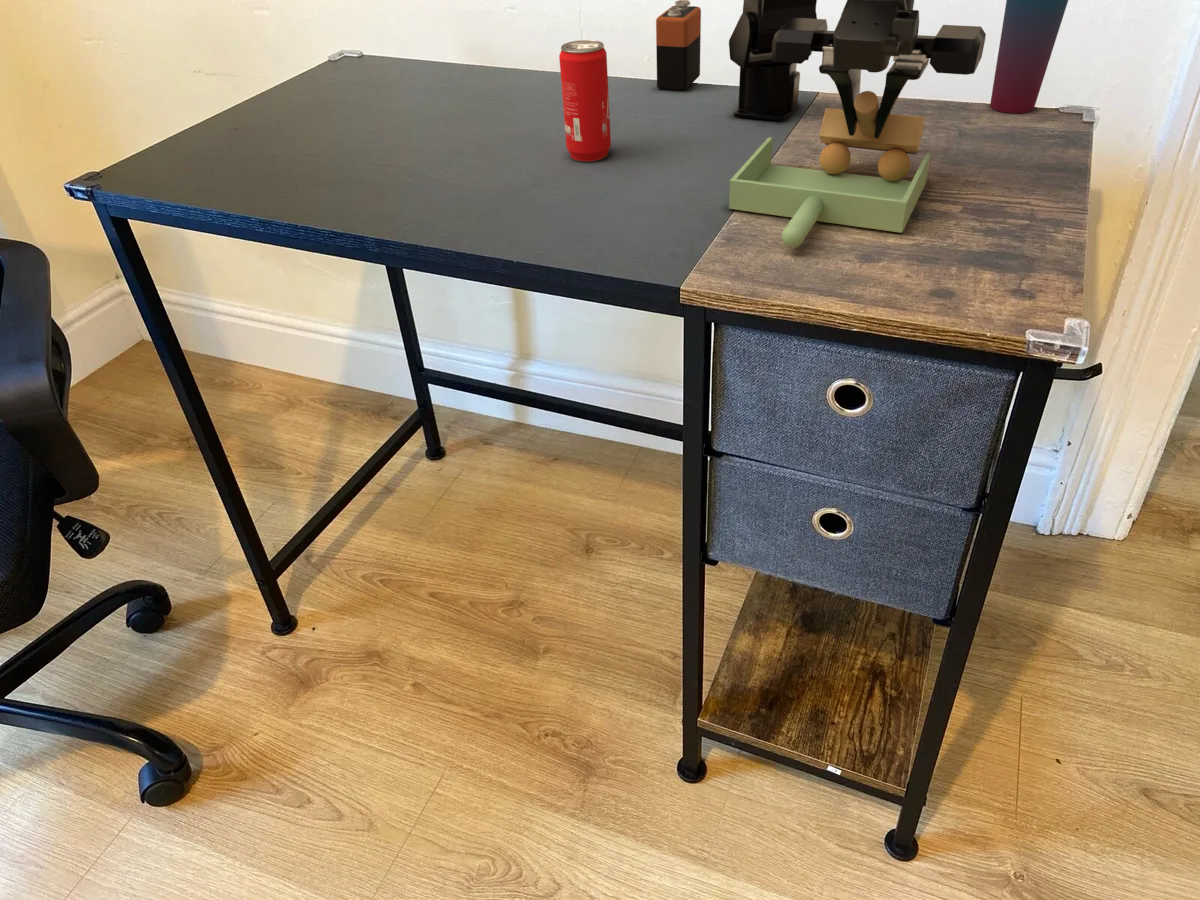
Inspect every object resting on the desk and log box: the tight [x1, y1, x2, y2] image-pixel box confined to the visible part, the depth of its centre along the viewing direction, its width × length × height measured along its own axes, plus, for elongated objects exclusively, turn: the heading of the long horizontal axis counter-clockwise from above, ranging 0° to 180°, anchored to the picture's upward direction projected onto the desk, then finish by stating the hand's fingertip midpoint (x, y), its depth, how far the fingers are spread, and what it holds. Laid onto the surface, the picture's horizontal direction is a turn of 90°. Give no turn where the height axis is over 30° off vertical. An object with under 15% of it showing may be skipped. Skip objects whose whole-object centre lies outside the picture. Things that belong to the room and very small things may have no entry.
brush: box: [818, 90, 926, 155], centre depth 89 cm, size 10×3×9 cm
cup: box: [989, 0, 1069, 114], centre depth 102 cm, size 7×7×15 cm
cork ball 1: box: [819, 143, 852, 174], centre depth 93 cm, size 3×3×3 cm
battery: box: [655, 0, 702, 91], centre depth 119 cm, size 4×7×10 cm, turn 158°
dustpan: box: [728, 136, 931, 249], centre depth 86 cm, size 20×17×3 cm
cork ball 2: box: [877, 149, 911, 181], centre depth 91 cm, size 3×3×3 cm
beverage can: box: [558, 39, 612, 163], centre depth 99 cm, size 5×5×12 cm
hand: (864, 135), depth 88 cm, fingers closed on brush, 2 cm apart
